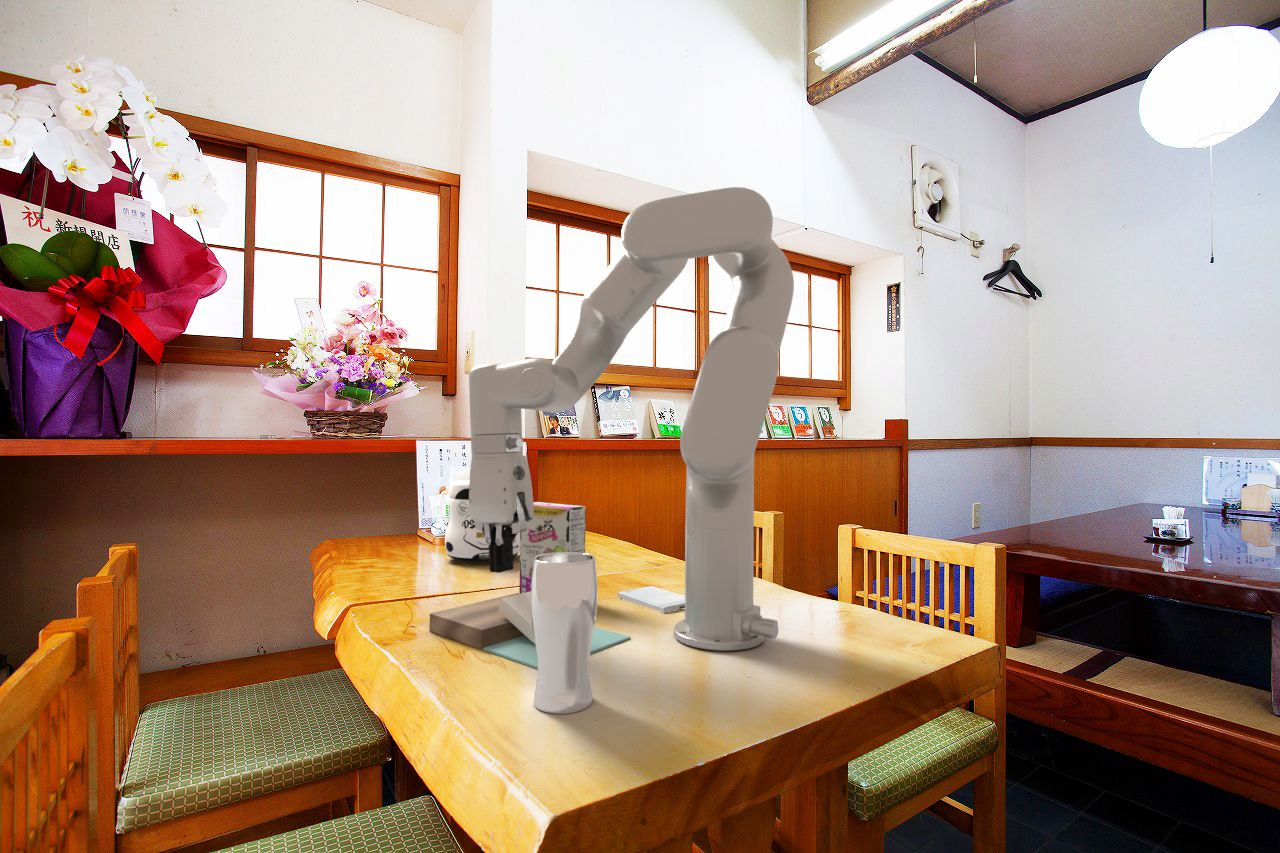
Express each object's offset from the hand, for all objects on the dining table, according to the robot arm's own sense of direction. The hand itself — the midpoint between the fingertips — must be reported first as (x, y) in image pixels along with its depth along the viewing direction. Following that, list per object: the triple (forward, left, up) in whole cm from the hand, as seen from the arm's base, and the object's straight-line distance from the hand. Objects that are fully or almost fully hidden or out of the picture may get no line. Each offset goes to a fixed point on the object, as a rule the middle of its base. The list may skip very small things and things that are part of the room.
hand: (501, 570), depth 91 cm
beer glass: (-27, +13, -8) cm, 31 cm away
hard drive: (-10, -26, -9) cm, 29 cm away
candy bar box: (+5, -15, -8) cm, 18 cm away
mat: (-13, +1, -8) cm, 15 cm away
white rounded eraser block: (-8, +1, -6) cm, 10 cm away
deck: (-1, +1, -8) cm, 8 cm away
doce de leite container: (+44, -30, -8) cm, 54 cm away
